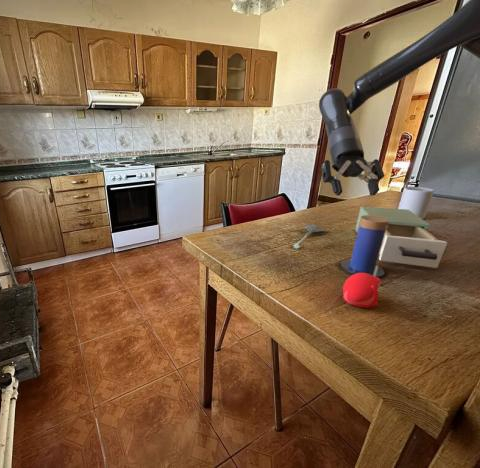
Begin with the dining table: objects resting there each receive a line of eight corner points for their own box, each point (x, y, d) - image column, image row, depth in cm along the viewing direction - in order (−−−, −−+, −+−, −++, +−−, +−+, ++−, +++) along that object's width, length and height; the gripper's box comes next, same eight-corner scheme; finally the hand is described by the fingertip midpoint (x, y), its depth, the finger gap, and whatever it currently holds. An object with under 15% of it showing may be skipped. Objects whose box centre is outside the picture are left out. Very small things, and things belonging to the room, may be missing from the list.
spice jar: (371, 264, 66) (385, 216, 62) (377, 274, 62) (392, 223, 57) (346, 260, 68) (358, 214, 64) (350, 270, 64) (363, 220, 59)
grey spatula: (327, 233, 90) (307, 229, 95) (328, 223, 89) (308, 221, 94) (307, 251, 75) (284, 246, 80) (308, 240, 74) (285, 236, 79)
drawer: (446, 276, 59) (457, 249, 57) (384, 267, 64) (392, 242, 61) (413, 245, 75) (421, 223, 73) (366, 240, 79) (372, 219, 77)
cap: (370, 317, 49) (379, 290, 46) (335, 303, 53) (341, 277, 51) (381, 299, 53) (390, 274, 51) (348, 288, 58) (355, 264, 55)
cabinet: (420, 253, 72) (430, 224, 69) (365, 246, 77) (373, 219, 74) (400, 234, 85) (408, 209, 82) (355, 230, 90) (360, 206, 87)
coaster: (378, 264, 67) (378, 262, 67) (389, 281, 60) (389, 279, 59) (338, 258, 71) (338, 257, 71) (343, 274, 63) (344, 272, 63)
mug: (423, 221, 97) (433, 192, 93) (394, 216, 103) (402, 189, 99) (426, 214, 104) (435, 187, 100) (398, 210, 110) (406, 184, 106)
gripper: (324, 137, 72) (334, 186, 65) (380, 135, 70) (396, 185, 63) (313, 155, 79) (322, 201, 72) (364, 154, 77) (377, 201, 70)
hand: (356, 193), depth 68 cm, fingers open, 8 cm apart
